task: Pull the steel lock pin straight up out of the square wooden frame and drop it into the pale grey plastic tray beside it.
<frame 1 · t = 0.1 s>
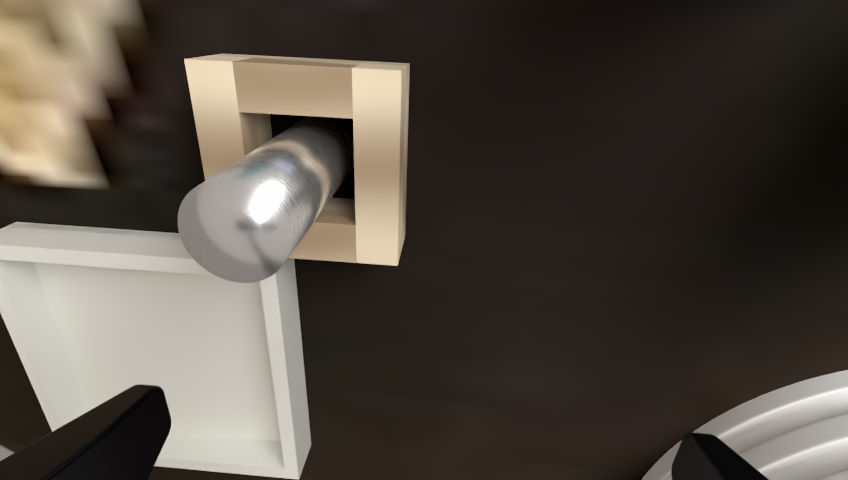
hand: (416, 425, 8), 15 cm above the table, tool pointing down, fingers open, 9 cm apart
square wooden frame: (320, 151, 21), on the table
tray: (179, 345, 27), on the table
lock pin: (287, 183, 17), in the square wooden frame
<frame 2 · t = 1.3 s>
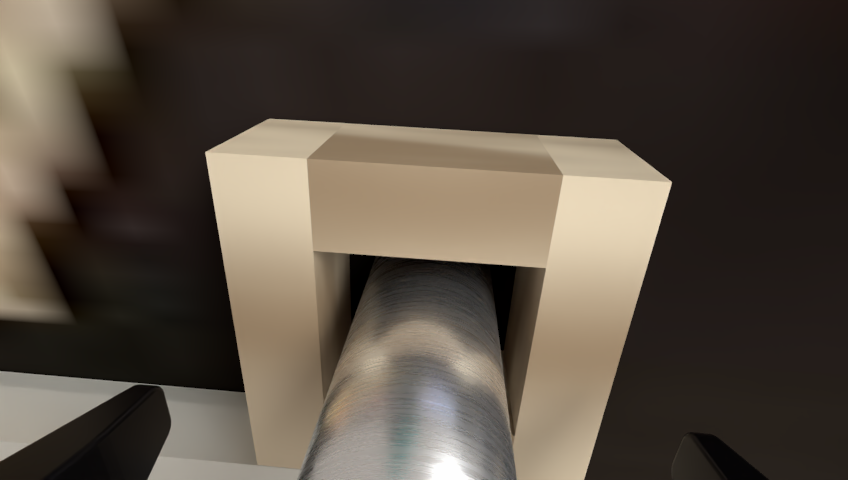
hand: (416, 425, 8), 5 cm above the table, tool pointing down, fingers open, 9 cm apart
square wooden frame: (431, 278, 12), on the table
lock pin: (417, 405, 8), in the square wooden frame
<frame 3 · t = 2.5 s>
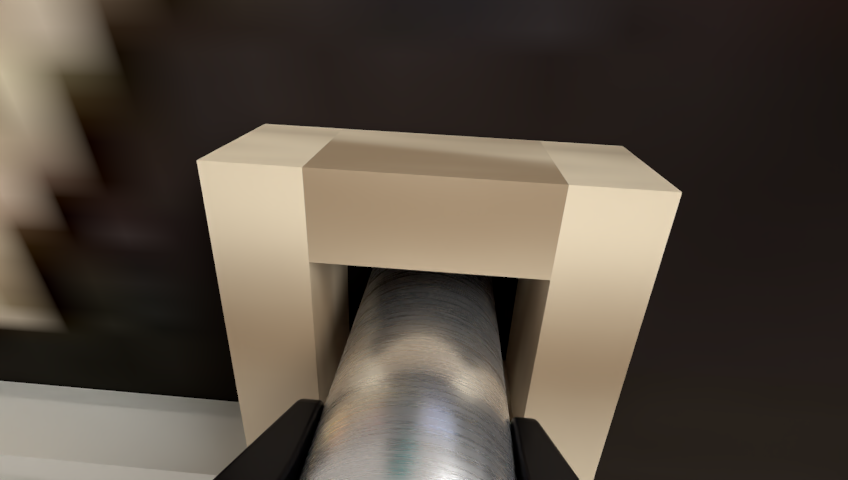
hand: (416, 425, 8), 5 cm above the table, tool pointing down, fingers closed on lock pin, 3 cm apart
square wooden frame: (431, 287, 12), on the table
lock pin: (416, 423, 8), in the square wooden frame, touching gripper
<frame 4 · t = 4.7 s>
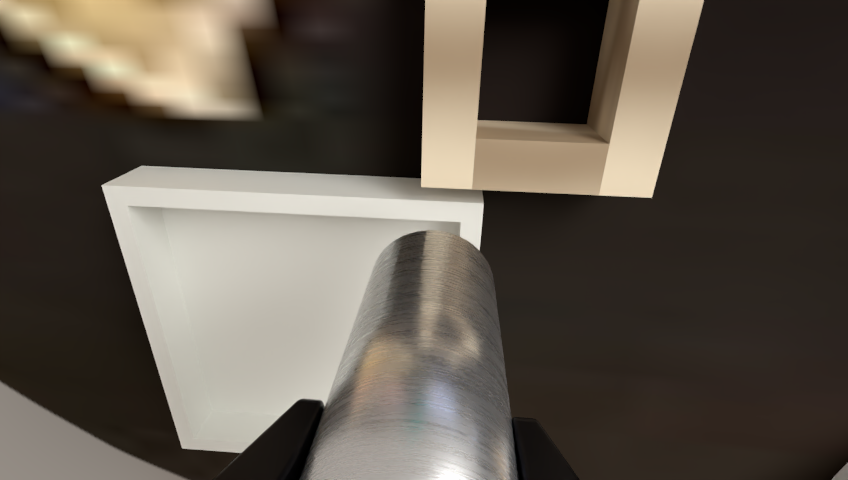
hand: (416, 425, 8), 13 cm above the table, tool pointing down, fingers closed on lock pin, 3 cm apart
square wooden frame: (537, 61, 17), on the table
tray: (321, 314, 23), on the table
lock pin: (417, 422, 8), point 13 cm above the table, touching gripper
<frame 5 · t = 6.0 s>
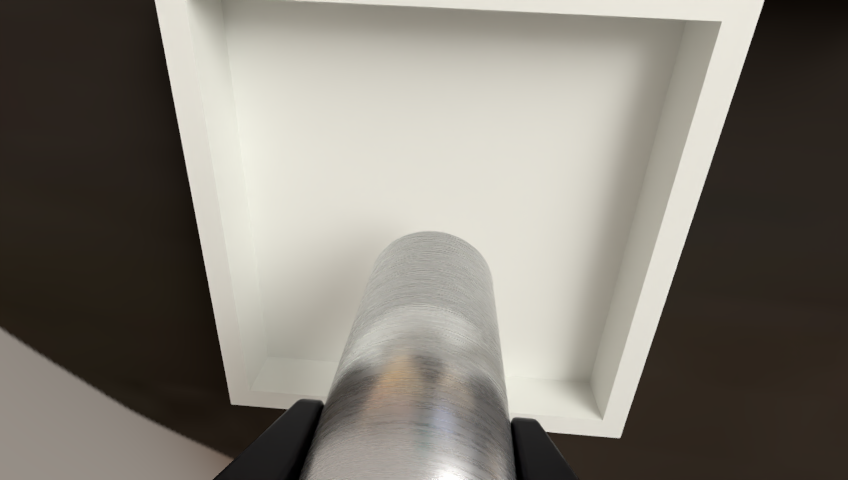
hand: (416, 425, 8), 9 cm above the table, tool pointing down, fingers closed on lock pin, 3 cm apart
tray: (436, 215, 16), on the table
lock pin: (416, 423, 8), point 9 cm above the table, touching gripper
when the fingers open (7 cm above the table, at t = 7.0 s): lock pin drops 2 cm, resting on tray.
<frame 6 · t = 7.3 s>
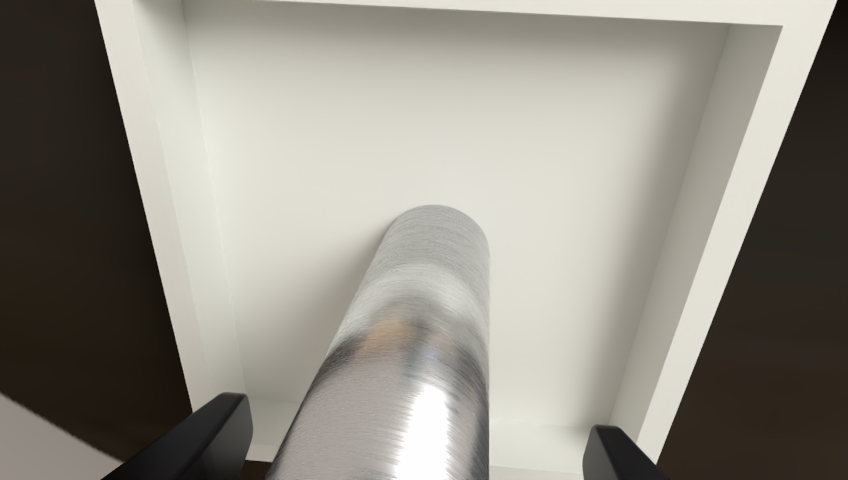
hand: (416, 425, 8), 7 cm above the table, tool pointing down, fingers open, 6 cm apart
tray: (434, 245, 14), on the table
lock pin: (411, 354, 10), in the tray, point 5 cm above the table
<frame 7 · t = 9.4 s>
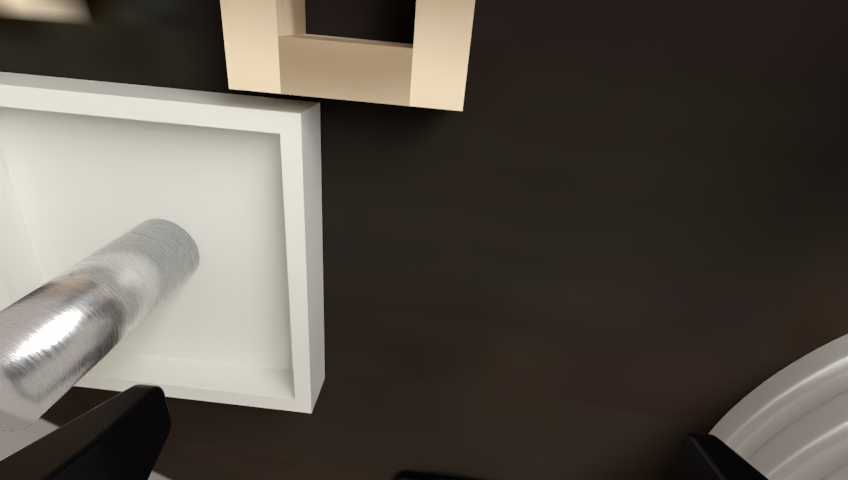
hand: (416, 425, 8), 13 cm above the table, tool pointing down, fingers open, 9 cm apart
tray: (172, 244, 22), on the table
lock pin: (95, 304, 17), in the tray, point 5 cm above the table
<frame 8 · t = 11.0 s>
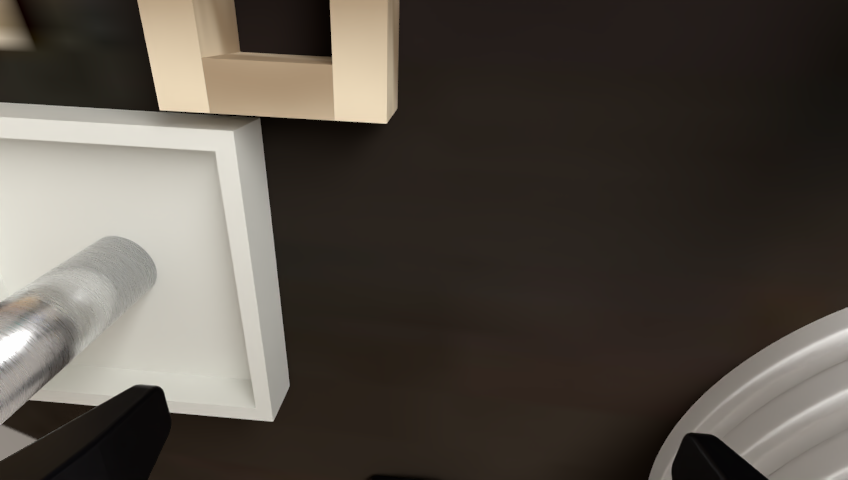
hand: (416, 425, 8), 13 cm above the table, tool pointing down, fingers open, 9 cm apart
tray: (130, 260, 22), on the table
lock pin: (48, 323, 18), in the tray, point 5 cm above the table
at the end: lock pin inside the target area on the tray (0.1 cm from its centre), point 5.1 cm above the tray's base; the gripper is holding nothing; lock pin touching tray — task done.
